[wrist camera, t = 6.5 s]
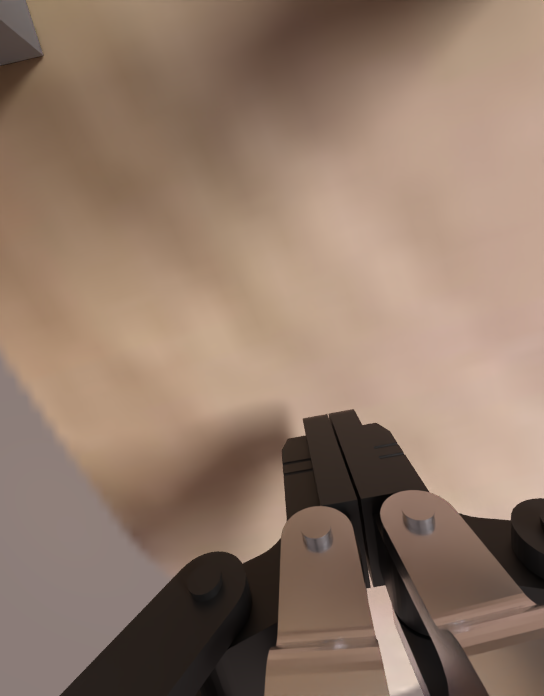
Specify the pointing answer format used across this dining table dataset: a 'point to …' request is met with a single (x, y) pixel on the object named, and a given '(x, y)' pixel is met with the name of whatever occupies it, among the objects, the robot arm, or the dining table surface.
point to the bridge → (17, 33)
